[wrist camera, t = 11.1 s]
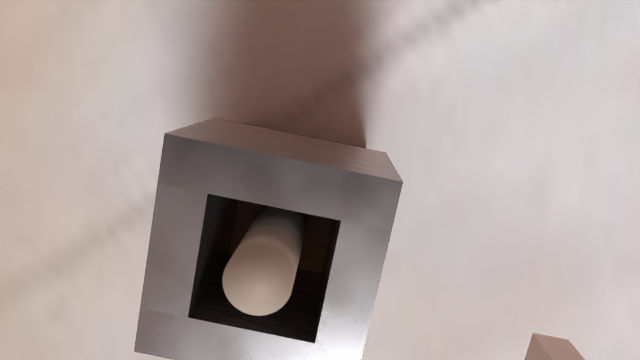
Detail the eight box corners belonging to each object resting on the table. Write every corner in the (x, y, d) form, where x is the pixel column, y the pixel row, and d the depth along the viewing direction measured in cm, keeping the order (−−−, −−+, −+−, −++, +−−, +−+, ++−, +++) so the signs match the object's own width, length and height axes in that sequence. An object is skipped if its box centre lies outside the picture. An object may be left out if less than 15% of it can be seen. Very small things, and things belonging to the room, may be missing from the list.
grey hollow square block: (214, 117, 21) (164, 133, 15) (386, 152, 21) (402, 181, 15) (188, 279, 22) (134, 351, 17) (349, 312, 22) (352, 395, 17)
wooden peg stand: (242, 123, 25) (168, 158, 14) (366, 148, 25) (384, 202, 14) (223, 242, 26) (139, 356, 15) (341, 265, 26) (340, 397, 15)
